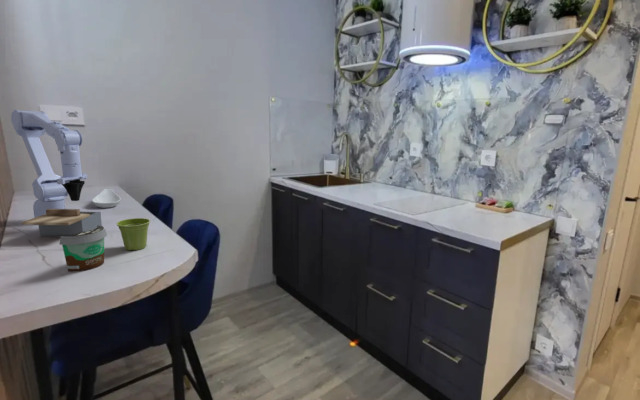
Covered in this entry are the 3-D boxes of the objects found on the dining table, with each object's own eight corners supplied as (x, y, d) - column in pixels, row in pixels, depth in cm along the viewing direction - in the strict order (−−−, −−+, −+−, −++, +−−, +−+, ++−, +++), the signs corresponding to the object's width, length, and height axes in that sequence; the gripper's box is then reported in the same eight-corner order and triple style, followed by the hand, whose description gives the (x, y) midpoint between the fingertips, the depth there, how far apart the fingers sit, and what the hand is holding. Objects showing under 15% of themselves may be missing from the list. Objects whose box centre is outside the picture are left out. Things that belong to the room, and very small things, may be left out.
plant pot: (129, 255, 102) (127, 227, 100) (112, 248, 107) (110, 222, 105) (157, 246, 110) (156, 221, 108) (141, 241, 115) (139, 216, 113)
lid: (22, 224, 107) (20, 215, 107) (48, 215, 119) (47, 207, 119) (68, 225, 109) (67, 216, 108) (90, 215, 121) (89, 207, 120)
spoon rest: (120, 209, 158) (119, 194, 157) (91, 210, 152) (89, 195, 151) (122, 199, 178) (121, 186, 177) (96, 200, 173) (94, 187, 171)
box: (40, 236, 115) (37, 219, 114) (62, 226, 127) (61, 211, 126) (83, 236, 117) (81, 219, 116) (101, 226, 128) (100, 211, 127)
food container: (82, 276, 87) (78, 239, 85) (62, 273, 88) (58, 236, 86) (119, 259, 98) (116, 226, 97) (101, 256, 100) (98, 224, 98)
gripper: (70, 166, 115) (74, 204, 118) (94, 162, 129) (97, 197, 132) (48, 165, 115) (53, 204, 117) (74, 162, 129) (78, 196, 131)
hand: (75, 200), depth 125 cm, fingers closed
